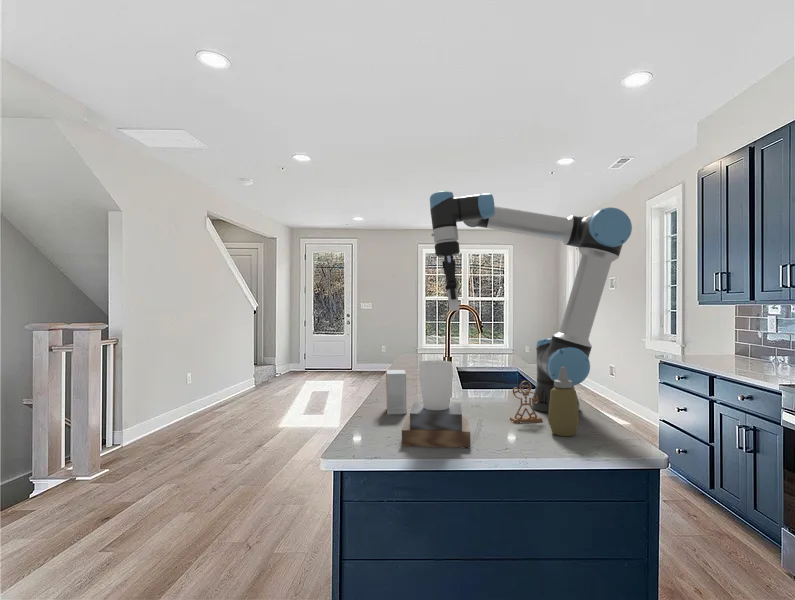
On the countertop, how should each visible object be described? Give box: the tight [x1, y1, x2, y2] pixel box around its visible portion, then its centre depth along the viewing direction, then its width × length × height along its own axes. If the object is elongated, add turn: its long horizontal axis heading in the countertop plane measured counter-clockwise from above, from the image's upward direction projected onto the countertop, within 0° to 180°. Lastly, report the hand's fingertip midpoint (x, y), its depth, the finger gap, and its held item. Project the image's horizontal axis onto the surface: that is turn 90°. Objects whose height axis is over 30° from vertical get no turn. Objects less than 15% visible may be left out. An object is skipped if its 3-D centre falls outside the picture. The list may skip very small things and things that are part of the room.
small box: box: [385, 369, 408, 415], centre depth 159 cm, size 8×6×13 cm
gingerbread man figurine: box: [509, 380, 543, 424], centre depth 145 cm, size 9×4×12 cm, turn 100°
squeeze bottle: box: [547, 367, 580, 437], centre depth 132 cm, size 8×8×18 cm
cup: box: [418, 359, 454, 411], centre depth 128 cm, size 9×9×12 cm
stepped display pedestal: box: [401, 401, 471, 448], centre depth 128 cm, size 17×15×8 cm
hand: (454, 310), depth 150 cm, fingers open, 13 cm apart
